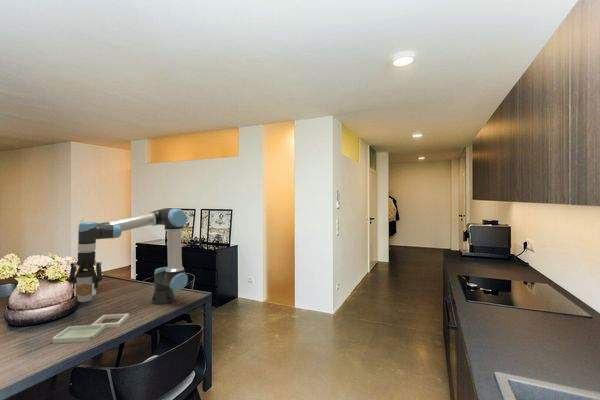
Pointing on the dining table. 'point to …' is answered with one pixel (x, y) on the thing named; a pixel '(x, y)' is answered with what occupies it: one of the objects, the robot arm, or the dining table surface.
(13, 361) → the dining table surface
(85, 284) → the coffee cup
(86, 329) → the tray
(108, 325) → the frame
